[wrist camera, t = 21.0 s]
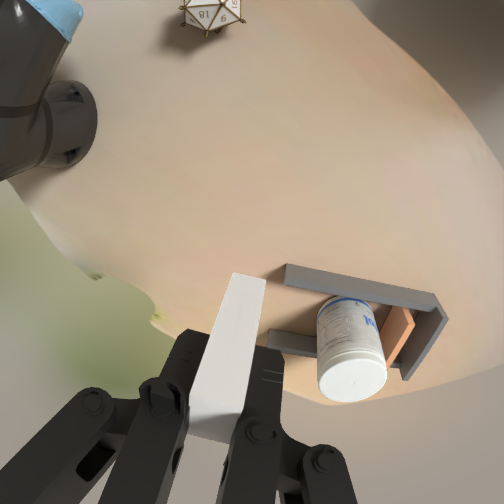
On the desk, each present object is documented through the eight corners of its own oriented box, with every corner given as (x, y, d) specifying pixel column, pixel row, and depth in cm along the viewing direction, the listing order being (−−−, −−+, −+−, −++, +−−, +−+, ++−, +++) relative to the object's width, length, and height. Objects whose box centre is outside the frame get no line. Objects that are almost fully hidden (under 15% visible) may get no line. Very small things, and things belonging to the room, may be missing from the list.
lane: (268, 333, 50) (264, 362, 44) (286, 263, 44) (284, 289, 38) (400, 353, 49) (407, 380, 43) (434, 293, 42) (448, 319, 36)
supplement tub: (381, 316, 46) (400, 382, 33) (338, 344, 50) (343, 411, 37) (350, 280, 44) (365, 347, 31) (303, 313, 47) (302, 382, 34)
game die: (217, 31, 33) (158, 41, 28) (216, -19, 27) (155, -17, 22) (266, 34, 29) (205, 40, 24) (267, -24, 23) (204, -30, 18)
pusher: (372, 344, 48) (379, 372, 42) (397, 296, 43) (408, 323, 37) (392, 346, 48) (400, 374, 42) (417, 300, 43) (430, 327, 37)
